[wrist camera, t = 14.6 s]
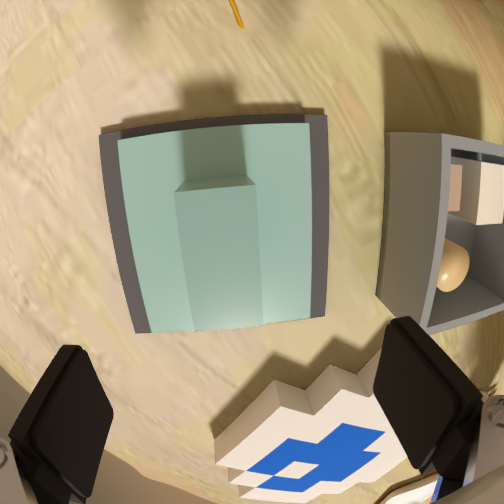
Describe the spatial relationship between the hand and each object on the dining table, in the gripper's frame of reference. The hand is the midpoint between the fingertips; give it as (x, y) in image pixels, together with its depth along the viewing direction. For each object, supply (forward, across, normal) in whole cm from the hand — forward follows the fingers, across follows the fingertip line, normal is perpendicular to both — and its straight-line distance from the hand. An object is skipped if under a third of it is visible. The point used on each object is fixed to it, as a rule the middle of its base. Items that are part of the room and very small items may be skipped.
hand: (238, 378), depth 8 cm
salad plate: (+17, -37, +71) cm, 82 cm away
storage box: (+15, -18, -1) cm, 24 cm away
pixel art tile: (+16, -11, +28) cm, 34 cm away
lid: (+14, +1, -1) cm, 14 cm away
